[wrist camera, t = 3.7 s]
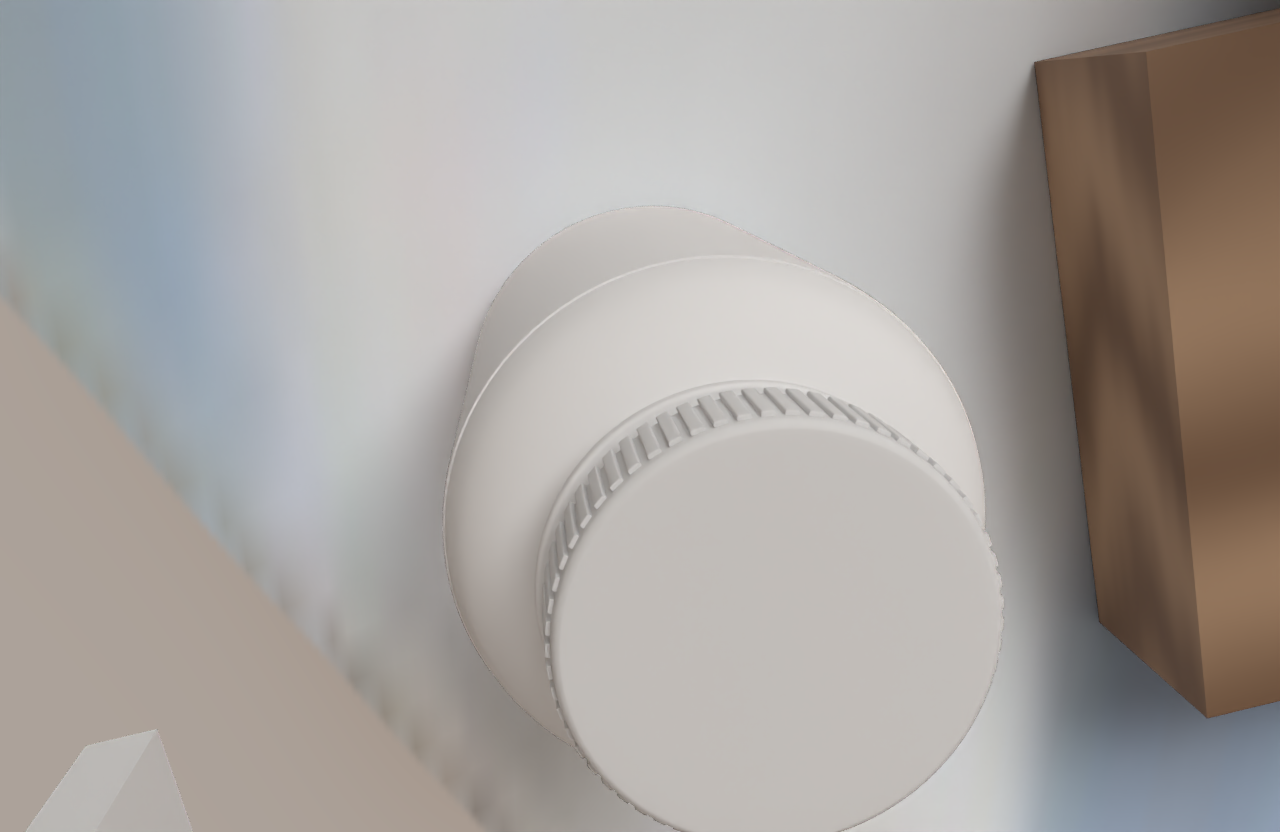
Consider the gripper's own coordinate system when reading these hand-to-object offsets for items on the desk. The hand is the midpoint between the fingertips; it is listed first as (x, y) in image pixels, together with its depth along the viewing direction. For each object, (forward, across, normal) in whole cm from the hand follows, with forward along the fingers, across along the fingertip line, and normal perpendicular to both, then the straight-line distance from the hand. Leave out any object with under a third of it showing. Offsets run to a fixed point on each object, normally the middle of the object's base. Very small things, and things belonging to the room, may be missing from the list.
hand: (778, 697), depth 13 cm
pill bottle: (+16, 0, 0) cm, 16 cm away
